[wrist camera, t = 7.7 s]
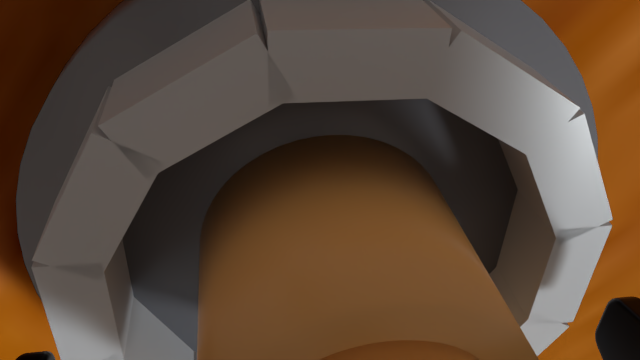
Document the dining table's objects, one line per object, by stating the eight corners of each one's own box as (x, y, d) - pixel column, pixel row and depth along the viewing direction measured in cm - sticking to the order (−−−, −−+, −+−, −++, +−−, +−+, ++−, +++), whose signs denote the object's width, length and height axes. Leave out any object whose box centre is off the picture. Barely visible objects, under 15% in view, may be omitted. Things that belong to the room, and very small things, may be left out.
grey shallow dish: (506, 359, 16) (551, 443, 14) (90, 404, 14) (70, 507, 12) (648, -67, 10) (765, -32, 8) (-53, -76, 8) (-145, -35, 6)
